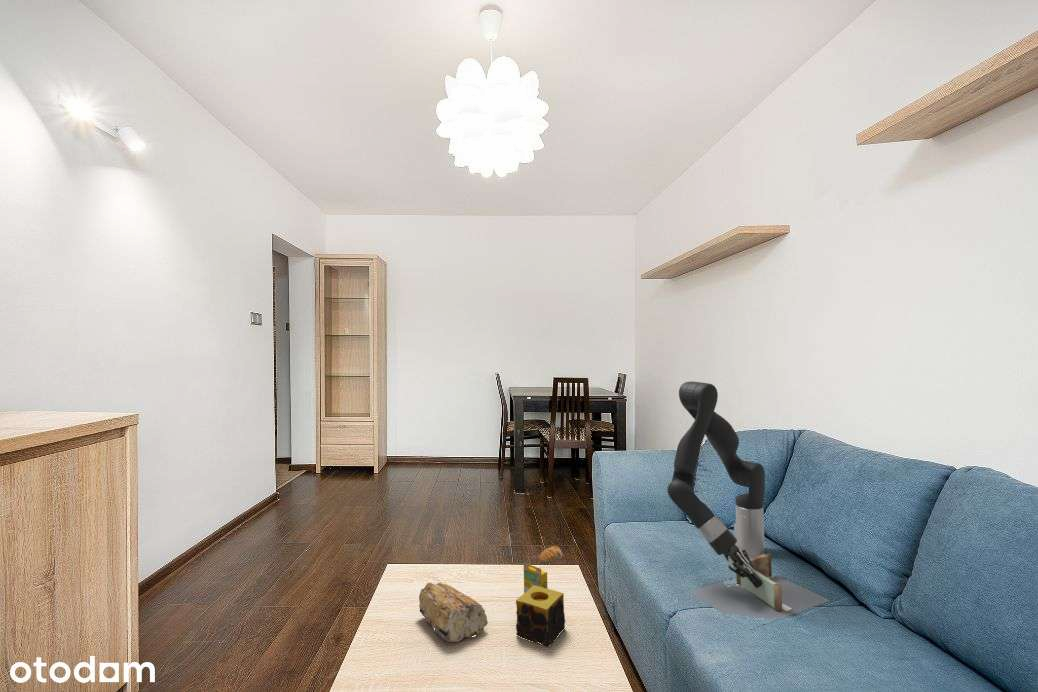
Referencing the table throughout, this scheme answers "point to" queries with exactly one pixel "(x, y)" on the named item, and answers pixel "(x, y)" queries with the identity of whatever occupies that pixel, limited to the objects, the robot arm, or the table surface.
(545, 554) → the pastry
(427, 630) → the table surface
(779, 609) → the green panel
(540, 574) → the crayon box
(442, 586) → the petrified wood
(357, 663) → the table surface
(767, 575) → the walnut fence
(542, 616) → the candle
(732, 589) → the card
